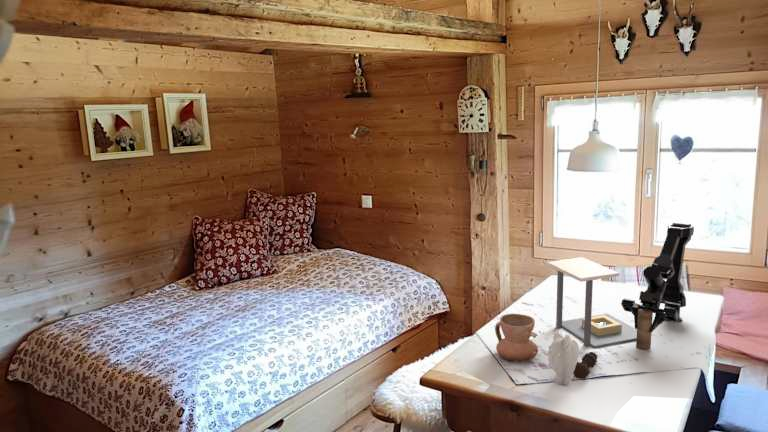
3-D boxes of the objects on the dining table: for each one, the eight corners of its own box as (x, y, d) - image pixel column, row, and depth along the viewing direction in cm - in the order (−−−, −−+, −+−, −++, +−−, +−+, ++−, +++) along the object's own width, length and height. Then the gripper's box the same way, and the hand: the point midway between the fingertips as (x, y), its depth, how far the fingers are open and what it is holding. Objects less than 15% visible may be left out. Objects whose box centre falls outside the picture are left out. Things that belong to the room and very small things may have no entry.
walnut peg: (634, 344, 213) (636, 308, 210) (648, 344, 212) (650, 308, 209) (637, 350, 208) (640, 313, 206) (652, 350, 208) (654, 313, 205)
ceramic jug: (549, 358, 205) (549, 320, 202) (522, 370, 196) (522, 331, 194) (509, 343, 219) (509, 307, 216) (483, 354, 210) (482, 317, 208)
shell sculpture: (553, 373, 194) (555, 323, 190) (578, 380, 189) (580, 328, 185) (545, 384, 187) (546, 332, 183) (571, 391, 182) (572, 338, 179)
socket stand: (607, 315, 240) (610, 252, 235) (648, 337, 218) (653, 268, 212) (543, 326, 232) (545, 261, 226) (580, 350, 210) (582, 279, 204)
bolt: (594, 366, 202) (581, 383, 190) (582, 356, 204) (568, 372, 192) (604, 354, 199) (591, 370, 187) (591, 345, 201) (578, 360, 189)
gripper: (624, 277, 214) (611, 314, 209) (678, 287, 202) (666, 326, 196) (630, 291, 222) (618, 327, 216) (683, 301, 209) (672, 340, 204)
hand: (643, 330), depth 208 cm, fingers closed on walnut peg, 5 cm apart
